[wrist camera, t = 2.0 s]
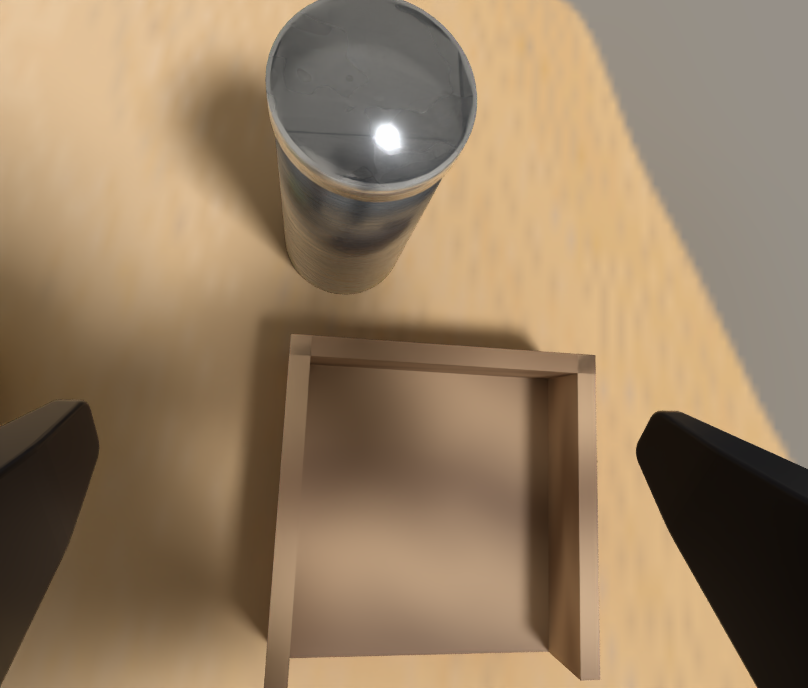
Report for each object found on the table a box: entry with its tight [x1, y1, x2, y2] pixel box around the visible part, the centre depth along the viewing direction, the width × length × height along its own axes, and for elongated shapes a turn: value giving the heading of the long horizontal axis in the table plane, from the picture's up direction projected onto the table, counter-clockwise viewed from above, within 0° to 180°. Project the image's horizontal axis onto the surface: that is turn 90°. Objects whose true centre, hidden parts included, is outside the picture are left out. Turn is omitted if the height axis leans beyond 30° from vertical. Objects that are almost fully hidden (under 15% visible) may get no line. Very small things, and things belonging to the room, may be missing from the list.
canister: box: [266, 0, 477, 294], centre depth 18 cm, size 5×5×10 cm
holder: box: [264, 334, 600, 688], centre depth 20 cm, size 11×11×4 cm
